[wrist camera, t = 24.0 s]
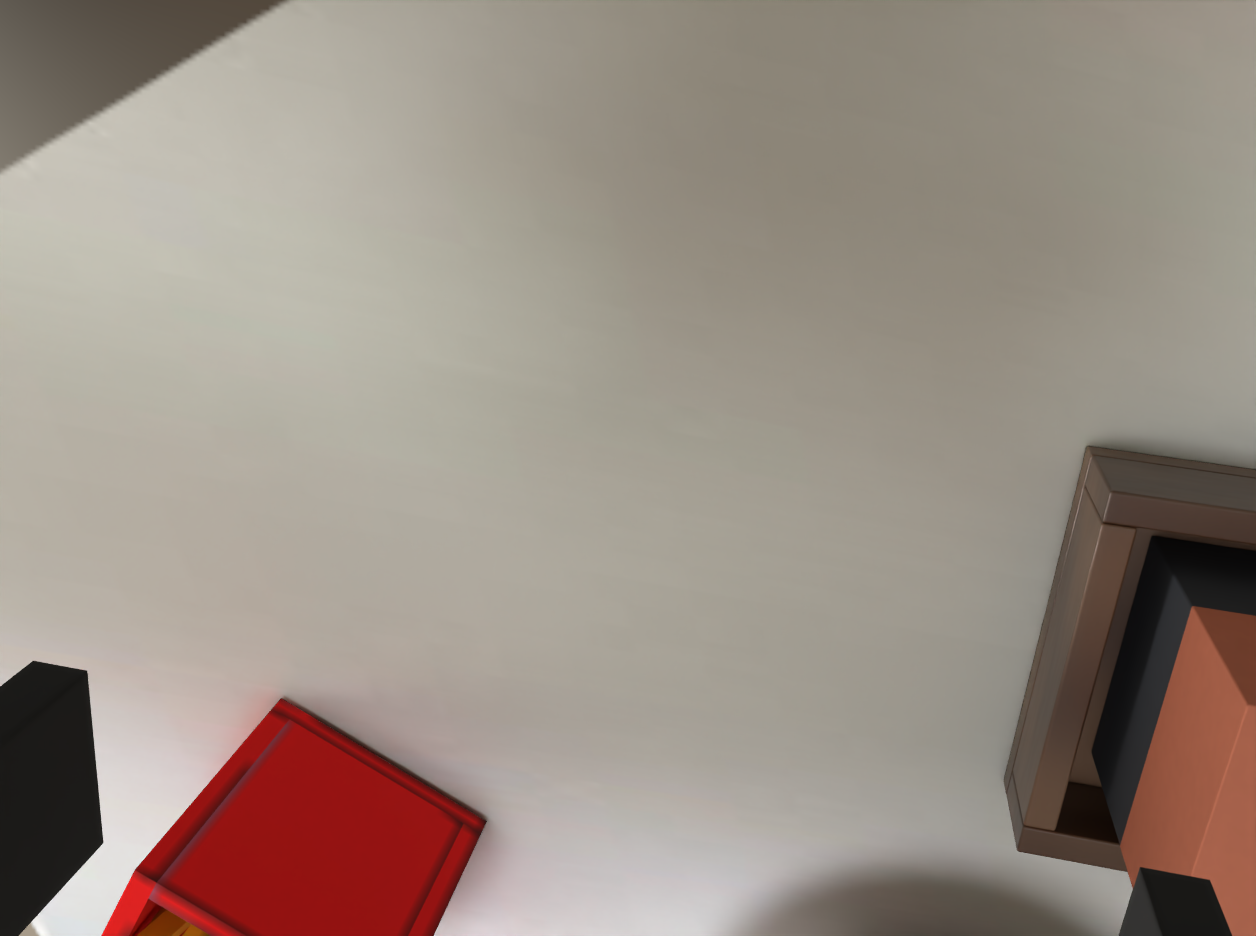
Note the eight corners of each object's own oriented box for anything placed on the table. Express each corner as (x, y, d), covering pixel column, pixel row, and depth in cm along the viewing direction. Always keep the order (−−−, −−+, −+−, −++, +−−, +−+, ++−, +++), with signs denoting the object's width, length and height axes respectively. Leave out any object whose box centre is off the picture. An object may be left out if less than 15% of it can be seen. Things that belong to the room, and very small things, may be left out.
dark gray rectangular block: (1151, 534, 36) (1193, 610, 32) (1359, 566, 36) (1433, 647, 31) (1090, 753, 39) (1120, 850, 35) (1281, 786, 39) (1338, 890, 34)
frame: (1086, 445, 37) (1110, 490, 33) (1452, 497, 35) (1518, 550, 32) (1003, 781, 41) (1016, 852, 38) (1324, 838, 40) (1368, 918, 36)
